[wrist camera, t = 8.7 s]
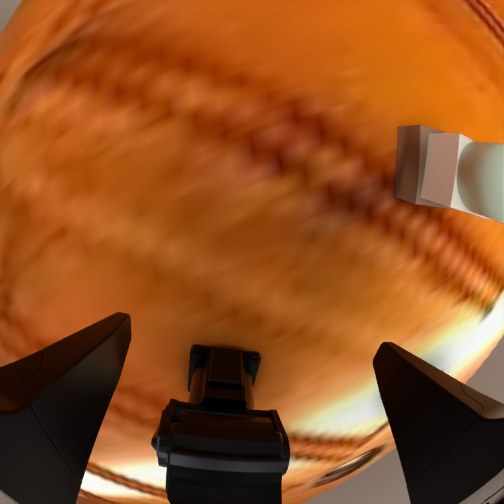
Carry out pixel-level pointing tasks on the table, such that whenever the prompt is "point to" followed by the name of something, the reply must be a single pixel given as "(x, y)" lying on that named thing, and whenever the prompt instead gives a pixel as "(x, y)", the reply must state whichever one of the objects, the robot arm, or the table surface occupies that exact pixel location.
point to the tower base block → (412, 164)
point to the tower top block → (444, 170)
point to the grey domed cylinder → (482, 179)
